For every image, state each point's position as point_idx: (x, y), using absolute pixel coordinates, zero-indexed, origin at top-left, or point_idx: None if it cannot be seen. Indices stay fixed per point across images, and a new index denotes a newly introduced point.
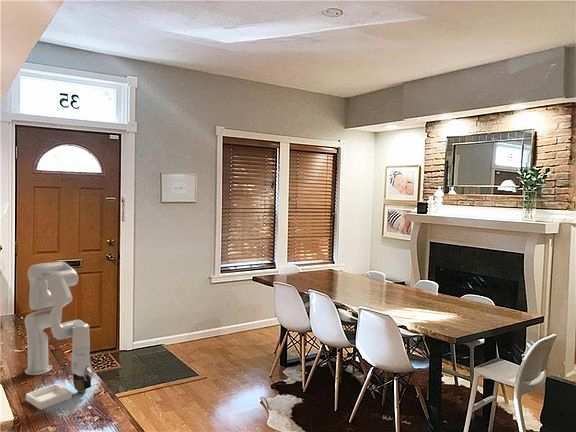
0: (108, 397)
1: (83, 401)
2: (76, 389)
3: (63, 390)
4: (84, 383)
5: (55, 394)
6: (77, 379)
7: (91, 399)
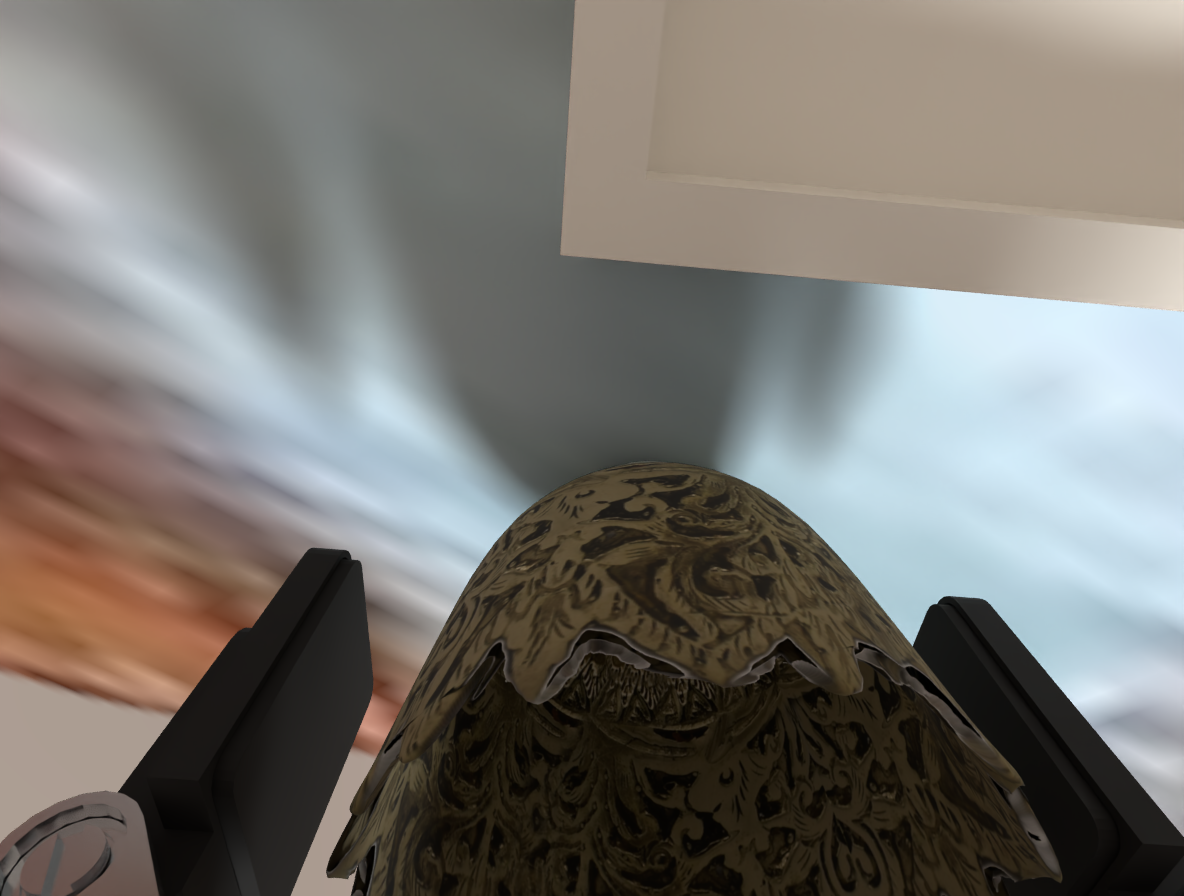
0: (54, 642)
1: (184, 290)
2: (649, 463)
3: (975, 207)
4: (218, 680)
5: (1157, 34)
6: (905, 748)
7: (170, 444)
